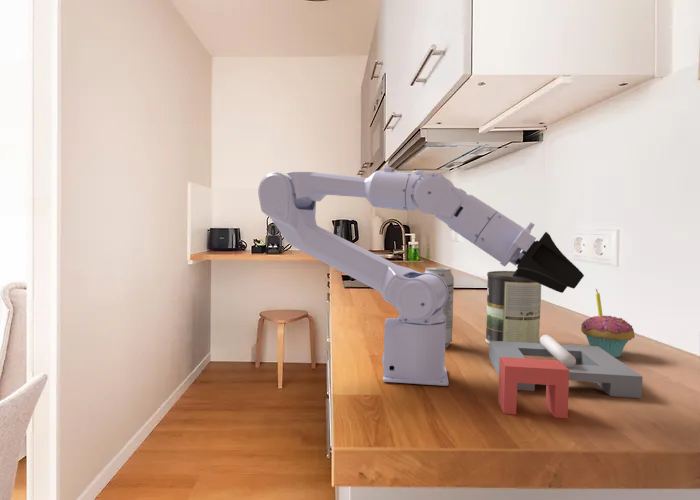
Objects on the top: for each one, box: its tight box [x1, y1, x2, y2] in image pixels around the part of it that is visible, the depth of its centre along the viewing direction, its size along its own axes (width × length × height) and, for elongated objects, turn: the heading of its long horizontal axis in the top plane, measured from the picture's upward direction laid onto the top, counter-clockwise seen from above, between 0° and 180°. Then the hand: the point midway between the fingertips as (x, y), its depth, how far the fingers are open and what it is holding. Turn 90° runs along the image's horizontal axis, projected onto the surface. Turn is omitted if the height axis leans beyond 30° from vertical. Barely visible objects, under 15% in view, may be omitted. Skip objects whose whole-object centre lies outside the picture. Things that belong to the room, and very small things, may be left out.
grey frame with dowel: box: [488, 334, 643, 399], centre depth 72 cm, size 18×16×5 cm
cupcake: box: [580, 288, 635, 358], centre depth 84 cm, size 9×8×12 cm
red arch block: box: [497, 357, 570, 419], centre depth 58 cm, size 8×4×6 cm, turn 81°
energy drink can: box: [424, 266, 455, 348], centre depth 89 cm, size 6×6×15 cm
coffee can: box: [484, 270, 542, 345], centre depth 91 cm, size 10×10×14 cm
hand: (572, 284), depth 61 cm, fingers open, 7 cm apart
